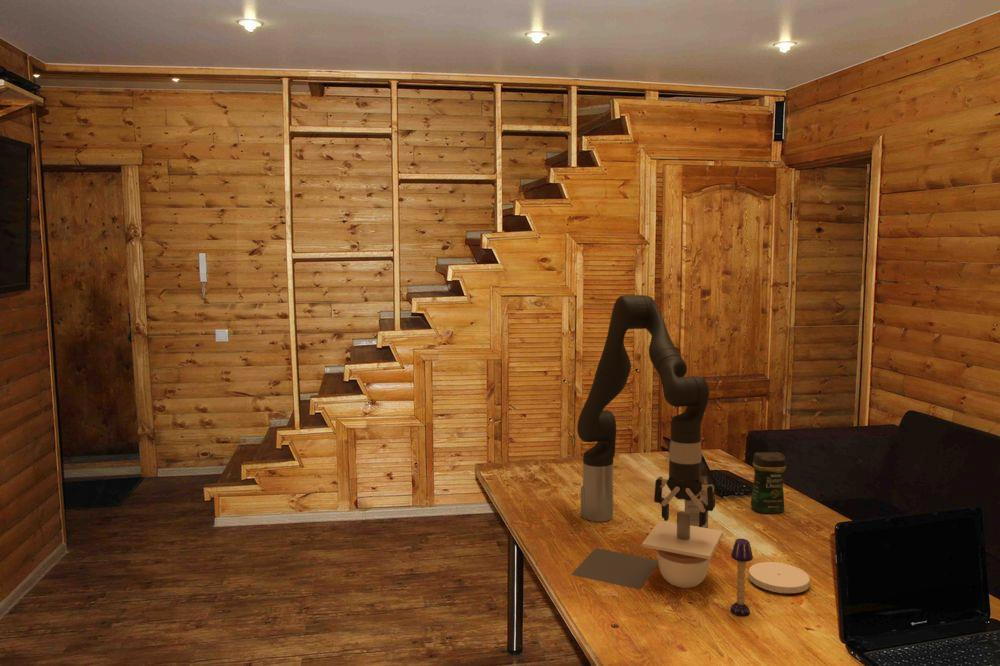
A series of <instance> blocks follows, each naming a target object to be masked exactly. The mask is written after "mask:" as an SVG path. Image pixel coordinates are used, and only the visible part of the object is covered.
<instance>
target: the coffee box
mask: <svg viewBox="0 0 1000 666" xmlns="http://www.w3.org/2000/svg"><path fill="white" fill-rule="evenodd" d="M701 483H702V485H710V484H709V479H708V475H701ZM699 494H700V495H701V496H702V498H703V501H704V502H705V503H706V505H707V504H708V496H707V494H705V491H704V490H703V489H702V490H701V491H700V492H699ZM684 511H686V512H689V513H690V514H691V518H690V525H691V526H697V527H699V512H700V509H699V508H698V506H697V505H695V503H694V502H693V500H690V501H687V500H684ZM703 528H709V511H707V521H706V523H705V525H703Z"/></svg>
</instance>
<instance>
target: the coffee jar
mask: <svg viewBox="0 0 1000 666" xmlns="http://www.w3.org/2000/svg"><path fill="white" fill-rule="evenodd" d="M752 467H753V470H754V475H753V477H754V479H753V486H752V487H753V488H752V492H751V499H750V507H751V508H752V510H753V511H754V512H758V513H761V514H780V513H783V512H784V511H785V497H784V496H785V495H784V494H785V493H784V474H785V471H786V469H787V463H786V456H785V455H784V454H783V453H781V452H779V451H775V452H773V451H771V452H754V455H753V460H752Z"/></svg>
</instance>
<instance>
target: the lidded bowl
mask: <svg viewBox="0 0 1000 666" xmlns="http://www.w3.org/2000/svg"><path fill="white" fill-rule="evenodd" d="M656 552H657V560H658V565H657V566H658V570H659V571H660V574H661V575H662V578H663V579H664V580H665V581H666V582H667V583H668V584H669V585H671V586H674V587H676V588H682V589H690V588H691V589H692V588H695V587H697V586H698V585H700V584H701V583H702V582H703V581H704V580H705V578H706V576H707V575H708V574H707V573H708V571H709V567H710V559H704V558H699V557H694V556H688V555H683V554H678V553H673V552H667V551H662V550H657V549H656Z"/></svg>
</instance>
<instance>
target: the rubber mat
mask: <svg viewBox="0 0 1000 666" xmlns="http://www.w3.org/2000/svg"><path fill="white" fill-rule="evenodd" d="M657 566H659V565H658V559H654V558H648V557H643V556H639V555H633V554H627V553H623V552H617V551H612V550H606V549H602V548H598V547H595V548H594V549H593V550H592V551H591V553H590V554H588V555H587V556H586V558H585V559H584V560H583V561H581V563H580V564H579V565H578V566H577V567H576V569H575V570H573V572H572V573H571V574H570V575H571V576H575V577H582V578H586V579H589V580H594V581H598V582H604V583H609V584H613V585H617V586H623V587H627V588H632V589H636V590H641V589H642V588H643V586H645V584H646V582H647V581H648V579H649V578H650V576H651V575H652V574H653V572H654V571H655V569H656V568H657Z"/></svg>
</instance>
